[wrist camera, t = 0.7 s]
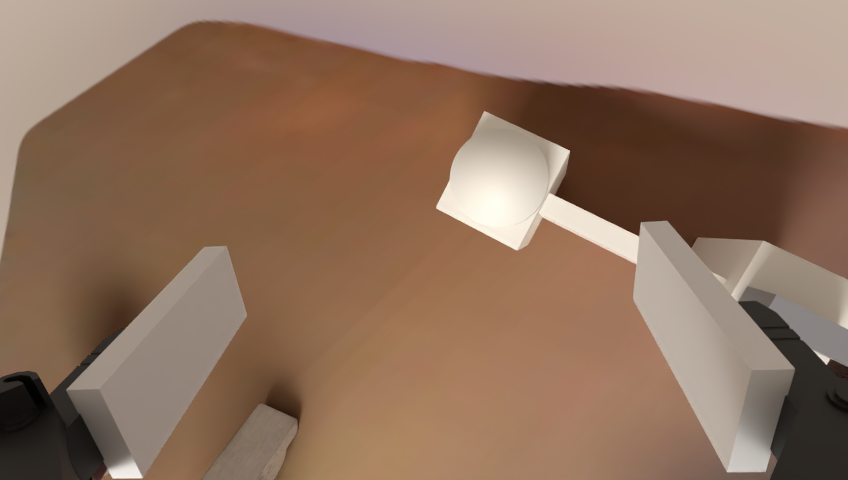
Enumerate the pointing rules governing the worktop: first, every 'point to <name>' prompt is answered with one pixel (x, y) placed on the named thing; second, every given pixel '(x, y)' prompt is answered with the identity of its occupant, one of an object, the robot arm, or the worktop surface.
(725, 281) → the white blocky piece
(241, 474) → the letter a
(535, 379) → the worktop surface
